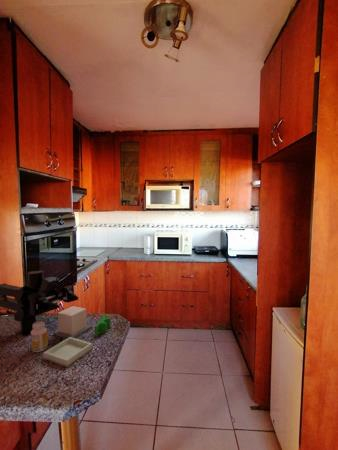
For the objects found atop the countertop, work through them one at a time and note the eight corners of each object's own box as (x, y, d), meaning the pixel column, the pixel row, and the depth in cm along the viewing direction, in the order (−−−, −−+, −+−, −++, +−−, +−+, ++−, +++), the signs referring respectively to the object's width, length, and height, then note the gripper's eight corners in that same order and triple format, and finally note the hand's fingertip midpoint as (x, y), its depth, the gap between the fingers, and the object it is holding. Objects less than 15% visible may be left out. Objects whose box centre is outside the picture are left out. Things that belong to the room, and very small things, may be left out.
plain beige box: (53, 334, 103) (52, 313, 102) (73, 323, 113) (73, 304, 112) (72, 339, 98) (71, 318, 98) (92, 328, 108) (91, 308, 107)
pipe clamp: (103, 337, 100) (103, 326, 100) (94, 337, 100) (94, 326, 100) (113, 324, 111) (112, 314, 111) (105, 324, 111) (104, 314, 111)
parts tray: (43, 358, 86) (43, 352, 86) (70, 342, 96) (69, 337, 96) (67, 367, 81) (67, 360, 81) (92, 349, 91) (92, 343, 91)
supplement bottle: (46, 343, 96) (44, 318, 96) (49, 348, 92) (48, 323, 91) (30, 348, 93) (29, 323, 92) (33, 354, 89) (31, 328, 88)
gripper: (18, 283, 92) (46, 288, 85) (59, 272, 109) (86, 275, 102) (19, 312, 93) (47, 320, 86) (60, 296, 110) (87, 301, 103)
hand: (68, 302), depth 94 cm, fingers open, 9 cm apart
